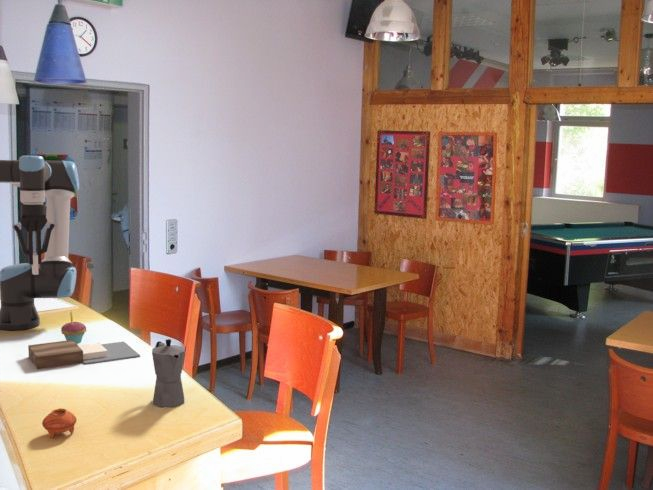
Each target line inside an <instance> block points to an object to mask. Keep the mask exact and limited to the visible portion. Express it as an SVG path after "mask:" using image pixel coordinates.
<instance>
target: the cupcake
mask: <svg viewBox="0 0 653 490" xmlns="http://www.w3.org/2000/svg"><path fill="white" fill-rule="evenodd" d="M69 315H70V322H67V323H65V324H63V325H62V326H61V328H60V329H61V330H60V331H61V334H62V335H64V338H65V341H67V340H73V341H74V342H75V343H76V344H80V343H81V342H82V340H83V337H84V335H85V333H86V332H87V326H86V325H85V324H84V323H82V322H78V321H74V317H73V312H72V310H70V312H69Z"/></svg>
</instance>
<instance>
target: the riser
mask: <svg viewBox="0 0 653 490" xmlns="http://www.w3.org/2000/svg"><path fill="white" fill-rule="evenodd" d="M27 348H28V358H29V360H30V361H31V362H32V364H33V365H34V367H35V368H36V370H43V369H49V368H56V367H64V366H69V365H70V366H71V365H72V366H73V365H77V364H84V363H83V350H82V349H81V348H80V347H79V346H78V343H75V342H74V341H73V340H67V341H66V340H61V341H53V342H52V341H51V342H45V343H36V344H35V343H34V344H29V345H28V346H27Z"/></svg>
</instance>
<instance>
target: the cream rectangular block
mask: <svg viewBox="0 0 653 490" xmlns="http://www.w3.org/2000/svg"><path fill="white" fill-rule="evenodd" d="M77 345H78V344H77ZM78 346H79V347H80V348H81V349H82V350H83V360H86V359H93V358H100V357H107V356H108V350H106V349H105V348H104V347H103V346H102V345H101V343H100V342H95V343H88V344H81V345H80V344H79V345H78Z"/></svg>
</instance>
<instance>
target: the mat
mask: <svg viewBox="0 0 653 490" xmlns="http://www.w3.org/2000/svg"><path fill="white" fill-rule="evenodd" d="M100 344H101V343H100ZM101 345H102V346H103V347H104V348H105V349H106V350H108V356H107V357H100V358H93V359H86V360H83V363H82V364H84V365H92V364H93V365H94V364H98V363H105V362H112V361H119V360H120V361H121V360H125V359H126V360H127V359H133V358H140V357H141V354H139V353H138V352H137V351H136V350H135V349H133V348H132V347H131V346H130V345H128V344H127V342H125V341H117V342H110V343H102V344H101Z"/></svg>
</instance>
